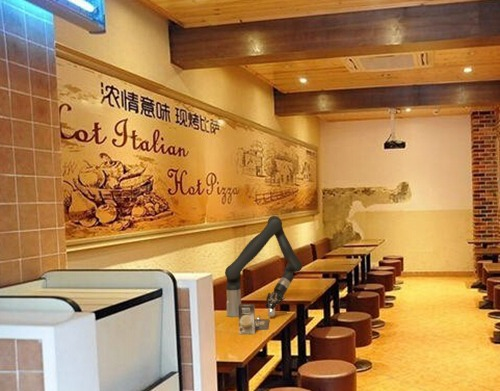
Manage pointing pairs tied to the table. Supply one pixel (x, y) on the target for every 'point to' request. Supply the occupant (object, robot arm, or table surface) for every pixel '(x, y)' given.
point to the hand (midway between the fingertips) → (269, 307)
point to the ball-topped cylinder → (271, 311)
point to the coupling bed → (261, 323)
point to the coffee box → (246, 318)
